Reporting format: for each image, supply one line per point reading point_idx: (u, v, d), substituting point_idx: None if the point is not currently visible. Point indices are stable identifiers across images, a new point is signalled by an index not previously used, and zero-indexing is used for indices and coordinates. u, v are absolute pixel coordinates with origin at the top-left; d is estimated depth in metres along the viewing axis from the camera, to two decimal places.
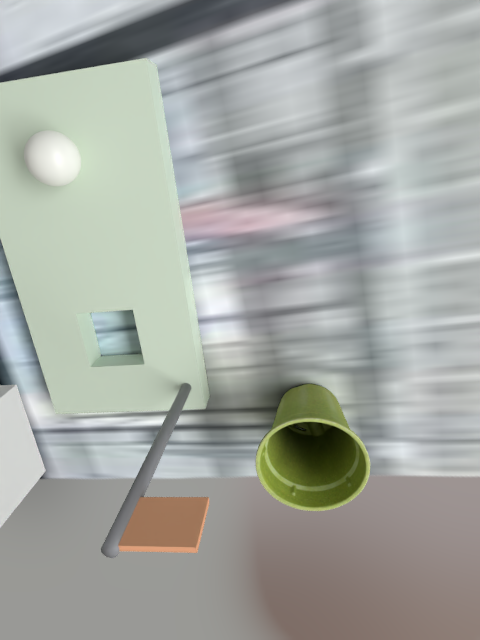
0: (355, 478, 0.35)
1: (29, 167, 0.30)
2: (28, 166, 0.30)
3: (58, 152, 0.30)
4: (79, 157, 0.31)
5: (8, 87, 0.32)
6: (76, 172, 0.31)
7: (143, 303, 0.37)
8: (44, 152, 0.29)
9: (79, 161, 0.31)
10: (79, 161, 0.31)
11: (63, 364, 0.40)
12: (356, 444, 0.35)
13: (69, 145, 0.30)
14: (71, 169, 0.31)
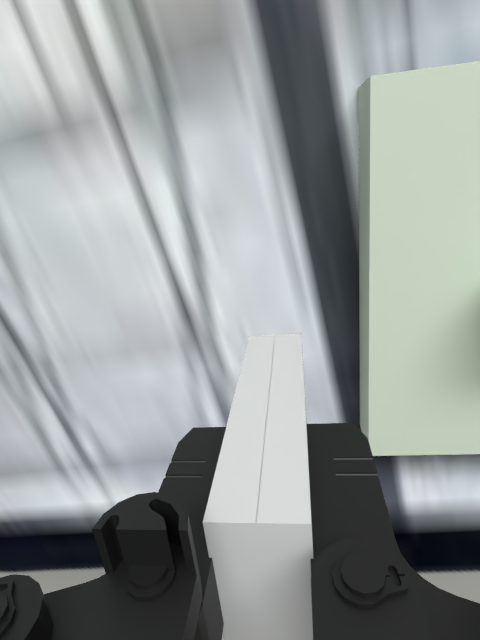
0: None
1: None
2: None
3: None
4: None
5: (378, 369, 0.18)
6: None
7: None
8: None
9: None
10: None
11: None
12: None
13: None
14: None
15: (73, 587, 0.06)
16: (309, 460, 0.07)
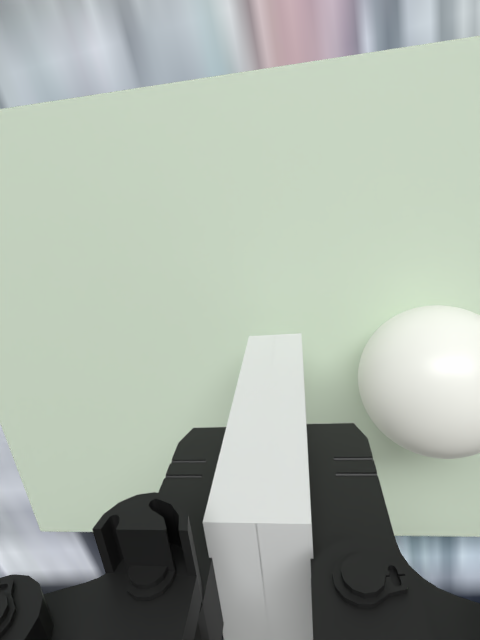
0: None
1: (372, 420, 0.11)
2: None
3: (380, 327, 0.11)
4: (457, 312, 0.10)
5: (16, 441, 0.16)
6: (445, 341, 0.09)
7: None
8: (362, 353, 0.12)
9: (453, 317, 0.10)
10: (450, 317, 0.10)
11: None
12: None
13: (417, 307, 0.11)
14: (413, 336, 0.10)
15: (73, 587, 0.06)
16: (309, 460, 0.07)
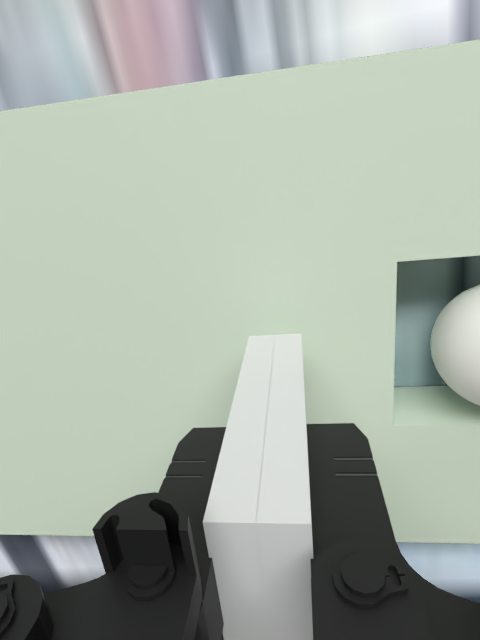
0: None
1: None
2: None
3: None
4: None
5: None
6: None
7: (378, 223, 0.11)
8: None
9: None
10: None
11: None
12: None
13: None
14: None
15: (73, 587, 0.06)
16: (309, 460, 0.07)
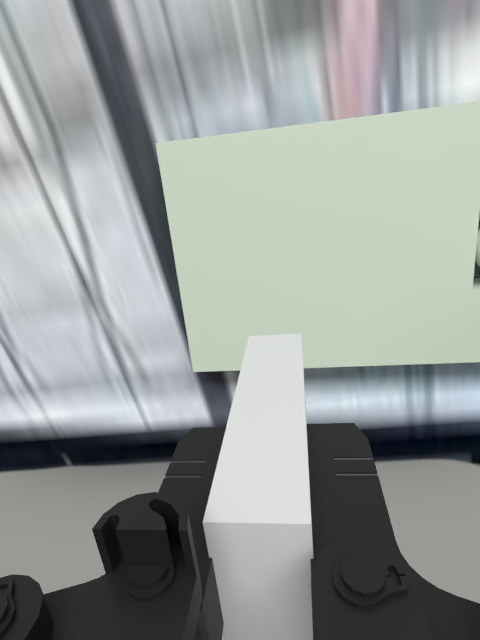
0: None
1: None
2: None
3: None
4: None
5: (188, 313, 0.29)
6: None
7: (473, 179, 0.24)
8: None
9: None
10: None
11: None
12: None
13: None
14: None
15: (73, 587, 0.06)
16: (309, 460, 0.07)
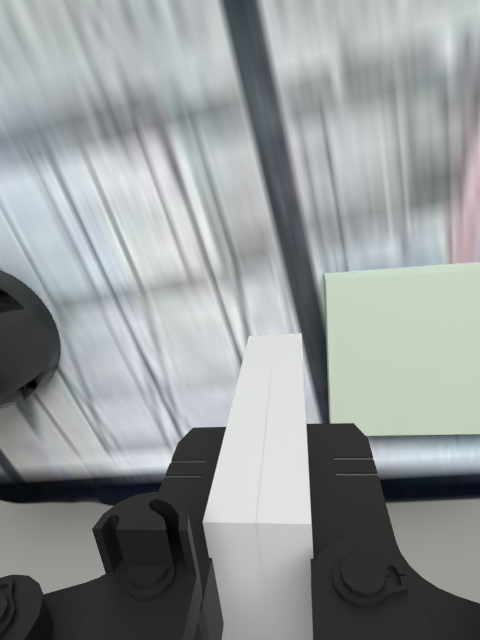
0: None
1: None
2: None
3: None
4: None
5: (334, 395, 0.39)
6: None
7: None
8: None
9: None
10: None
11: None
12: None
13: None
14: None
15: (73, 587, 0.06)
16: (309, 460, 0.07)
